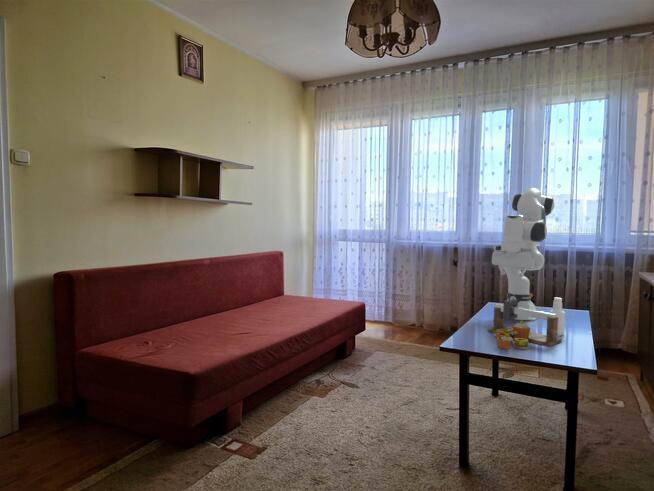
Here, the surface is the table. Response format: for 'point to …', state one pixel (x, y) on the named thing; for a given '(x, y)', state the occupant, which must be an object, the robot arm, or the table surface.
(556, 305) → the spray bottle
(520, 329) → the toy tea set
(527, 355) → the table surface
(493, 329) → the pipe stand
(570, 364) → the table surface
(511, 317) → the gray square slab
